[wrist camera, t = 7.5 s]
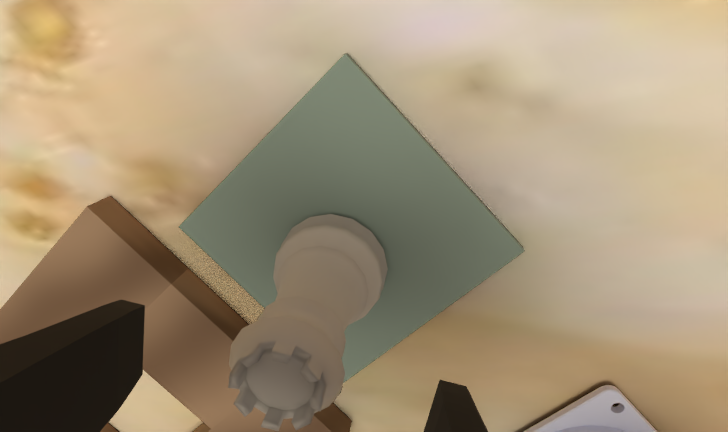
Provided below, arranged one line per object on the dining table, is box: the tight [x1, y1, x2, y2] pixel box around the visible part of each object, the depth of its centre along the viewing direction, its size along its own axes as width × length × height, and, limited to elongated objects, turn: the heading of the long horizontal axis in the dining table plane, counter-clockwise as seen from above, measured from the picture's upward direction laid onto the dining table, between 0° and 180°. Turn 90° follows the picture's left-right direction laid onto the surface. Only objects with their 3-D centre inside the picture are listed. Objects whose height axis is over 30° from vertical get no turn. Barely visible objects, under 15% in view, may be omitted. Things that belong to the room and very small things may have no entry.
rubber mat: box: [179, 53, 525, 383], centre depth 20 cm, size 10×10×1 cm
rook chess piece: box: [228, 214, 388, 431], centre depth 16 cm, size 4×4×8 cm
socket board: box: [0, 196, 352, 432], centre depth 23 cm, size 15×15×2 cm
